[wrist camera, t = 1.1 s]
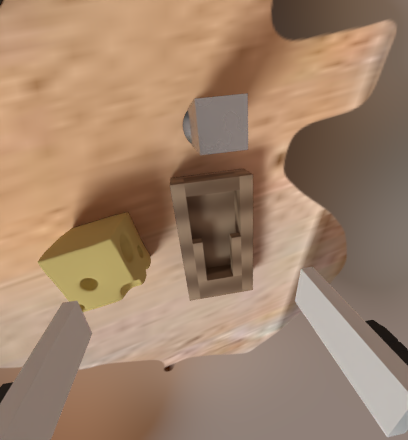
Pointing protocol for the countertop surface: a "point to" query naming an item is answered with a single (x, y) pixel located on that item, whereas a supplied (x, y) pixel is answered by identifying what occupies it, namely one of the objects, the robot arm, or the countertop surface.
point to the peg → (217, 124)
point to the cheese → (97, 261)
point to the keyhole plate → (215, 231)
